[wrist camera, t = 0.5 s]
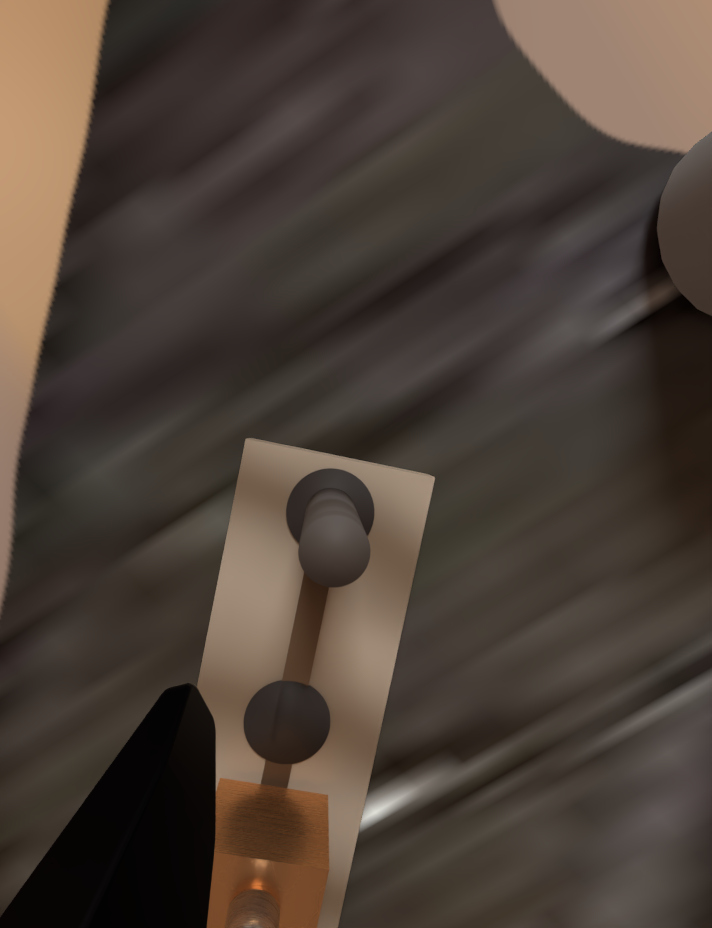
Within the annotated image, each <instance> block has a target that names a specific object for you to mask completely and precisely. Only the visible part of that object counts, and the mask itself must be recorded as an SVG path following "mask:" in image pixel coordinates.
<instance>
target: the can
mask: <svg viewBox="0 0 712 928" xmlns="http://www.w3.org/2000/svg"><path fill="white" fill-rule="evenodd" d="M657 234H658V240H659V246H660V252H661V258H662V261H663V263H664V265H665V267H666V269H667V271H668V273H669V275H670V277H671V279H672V281H673V283H674V285H675V287H676V288H677V289H678V290H679V291H680V292H681V293H682V294H683V295H684V296H685V297H686V298H687V299H688V300H689V301H690V302H691V303H692V304H693V305H694V306H695V307H696V308H697V309H698V310H700V311H702V312H704V313H706V314H708V315H711V316H712V132H711V133H709V134H708V135H707V136H705V137H704V138H703V139H701V140H700V141H699V142H698V143H696V144H695V145H694V146H693V147H692V148H691V150H690V151H689V152H688V153H687V154H686V155H685V156H684V157H683V158H682V160H681V161H680V162H679V163H678V164H677V165H676V166H675V167H674V169H673V171H672V174H671V176H670V178H669V180H668V182H667V185H666V187H665V189H664V191H663V193H662V196H661V200H660V208H659V215H658V223H657Z"/></svg>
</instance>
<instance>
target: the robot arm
mask: <svg viewBox="0 0 712 928" xmlns="http://www.w3.org/2000/svg"><path fill="white" fill-rule="evenodd" d="M215 837H216V728H215V722H214V718H213V716H212V714H211V712H210V710H209V708H208V706H207V704H206V703H205V701H204V699H203V697H202V695H201V693H200V692H199V690H198V688H197V687H196V685H194V684H192V683H187V684H183V685H179V686H175V687H170V688H168V689H166V690H165V691H164V692H163V693H162V694H161V696H160V697H159V699H158V700H157V701H156V703H155V704H154V705H153V707H152V708H151V710H150V711H149V712H148V714H147V715H146V717H145V718H144V719H143V721H142V722H141V723H140V725H139V726H138V728H137V729H136V730H135V732H134V733H133V734H132V736H131V737H130V739H129V740H128V741H127V743H126V744H125V745H124V747H123V748H122V750H121V751H120V752H119V754H118V755H117V757H116V758H115V759H114V761H113V762H112V763H111V765H110V766H109V768H108V769H107V770H106V772H105V773H104V774H103V776H102V777H101V779H100V780H99V781H98V783H97V784H96V785H95V787H94V788H93V790H92V791H91V792H90V794H89V795H88V797H87V798H86V799H85V801H84V802H83V803H82V805H81V806H80V808H79V809H78V810H77V812H76V813H75V814H74V816H73V817H72V819H71V820H70V821H69V823H68V824H67V825H66V827H65V828H64V830H63V831H62V832H61V834H60V835H59V837H58V838H57V839H56V841H55V842H54V843H53V845H52V846H51V848H50V849H49V850H48V852H47V853H46V854H45V856H44V857H43V859H42V860H41V861H40V863H39V864H38V865H37V867H36V868H35V870H34V871H33V872H32V874H31V875H30V877H29V878H28V879H27V881H26V882H25V883H24V885H23V886H22V888H21V889H20V890H19V892H18V893H17V894H16V896H15V897H14V899H13V900H12V901H11V903H10V904H9V905H8V907H7V908H6V910H5V911H4V912H3V914H2V915H1V917H0V928H207V920H208V910H209V901H210V891H211V881H212V871H213V861H214V850H215Z"/></svg>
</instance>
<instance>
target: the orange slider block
mask: <svg viewBox="0 0 712 928" xmlns="http://www.w3.org/2000/svg"><path fill="white" fill-rule="evenodd" d="M328 873H329V823H328V795H325V794H319V793H313V792H306V791H300V790H294V789H288V788H281V787H275V786H269V785H263V784H256V783H250V782H244V781H237V780H231V779H225V778H220V780H219V783H218V787H217V790H216V837H215V850H214V861H213V871H212V881H211V891H210V901H209V910H208V920H207V928H317V925H318V920H319V915H320V911H321V906H322V901H323V897H324V892H325V887H326V883H327V878H328Z"/></svg>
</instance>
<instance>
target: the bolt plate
mask: <svg viewBox="0 0 712 928" xmlns="http://www.w3.org/2000/svg"><path fill="white" fill-rule="evenodd" d="M434 480H435V477H433V476H431V475H429V474H425V473H420V472H415V471H410V470H405V469H401V468H396V467H391V466H386V465H381V464H376V463H371V462H366V461H361V460H357V459H352V458H347V457H342V456H337V455H332V454H327V453H322V452H317V451H313V450H308V449H303V448H298V447H293V446H288V445H283V444H278V443H273V442H269V441H264V440H259V439H254V438H248V439H246V440H245V446H244V451H243V456H242V461H241V466H240V471H239V476H238V481H237V486H236V491H235V496H234V501H233V507H232V512H231V517H230V522H229V527H228V532H227V537H226V542H225V547H224V552H223V557H222V562H221V568H220V573H219V578H218V583H217V588H216V593H215V598H214V603H213V608H212V613H211V618H210V623H209V629H208V634H207V639H206V644H205V649H204V654H203V659H202V664H201V669H200V674H199V679H198V684H197V688H198V690H199V692H200V693H201V695H202V697H203V699H204V701H205V703H206V704H207V706H208V708H209V710H210V712H211V714H212V716H213V718H214V722H215V728H216V790H217V787H218V783H219V780H220V778H225V779H231V780H237V781H244V782H250V783H256V784H263V785H269V786H275V787H281V788H288V789H294V790H300V791H306V792H313V793H319V794H325V795H328V823H329V873H328V878H327V883H326V887H325V892H324V897H323V901H322V906H321V911H320V915H319V920H318V925H317V928H338V924H339V919H340V915H341V910H342V906H343V901H344V896H345V892H346V887H347V882H348V878H349V873H350V869H351V864H352V859H353V855H354V850H355V845H356V841H357V836H358V832H359V827H360V822H361V818H362V813H363V808H364V804H365V799H366V795H367V790H368V785H369V781H370V776H371V771H372V767H373V762H374V758H375V753H376V748H377V744H378V739H379V734H380V730H381V725H382V721H383V716H384V711H385V707H386V702H387V697H388V693H389V688H390V684H391V679H392V674H393V670H394V665H395V660H396V656H397V651H398V647H399V642H400V637H401V633H402V628H403V623H404V619H405V614H406V610H407V605H408V600H409V596H410V591H411V586H412V582H413V577H414V573H415V568H416V563H417V559H418V554H419V549H420V545H421V540H422V536H423V531H424V526H425V522H426V517H427V512H428V508H429V503H430V499H431V494H432V489H433V485H434Z"/></svg>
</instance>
